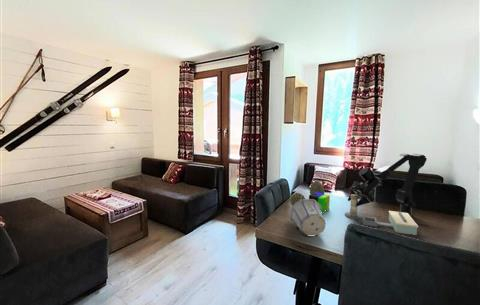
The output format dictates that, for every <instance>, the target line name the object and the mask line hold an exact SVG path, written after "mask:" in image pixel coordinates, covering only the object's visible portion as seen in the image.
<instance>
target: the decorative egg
mask: <svg viewBox="0 0 480 305" xmlns="http://www.w3.org/2000/svg"><path fill="white" fill-rule="evenodd" d="M315 192H317V193H322V194H325V188H324V185H323V184H322V182H321V181H319V180H314V181H313V182H312V183H311V186H310V187H309V195H311V194H313V193H315Z"/></svg>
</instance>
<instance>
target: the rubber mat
mask: <svg viewBox="0 0 480 305" xmlns="http://www.w3.org/2000/svg"><path fill="white" fill-rule="evenodd" d="M344 216H345V217H346V218H349V219H352V220H362V219H363V215H362V214H360V213H358V212H357V216H356V217H354V216H351V215H350V211H349V212H345V213H344Z"/></svg>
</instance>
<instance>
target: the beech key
mask: <svg viewBox="0 0 480 305" xmlns="http://www.w3.org/2000/svg"><path fill="white" fill-rule="evenodd" d="M349 196H350V195H349ZM350 197H351V200H350V206H349V207H350V210H349V212H350V215H351V216H354V217H356V216H357V213H358V207H359V206H356V204H357V203H358V201H359V197H360V195H355V194H351V196H350Z"/></svg>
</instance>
